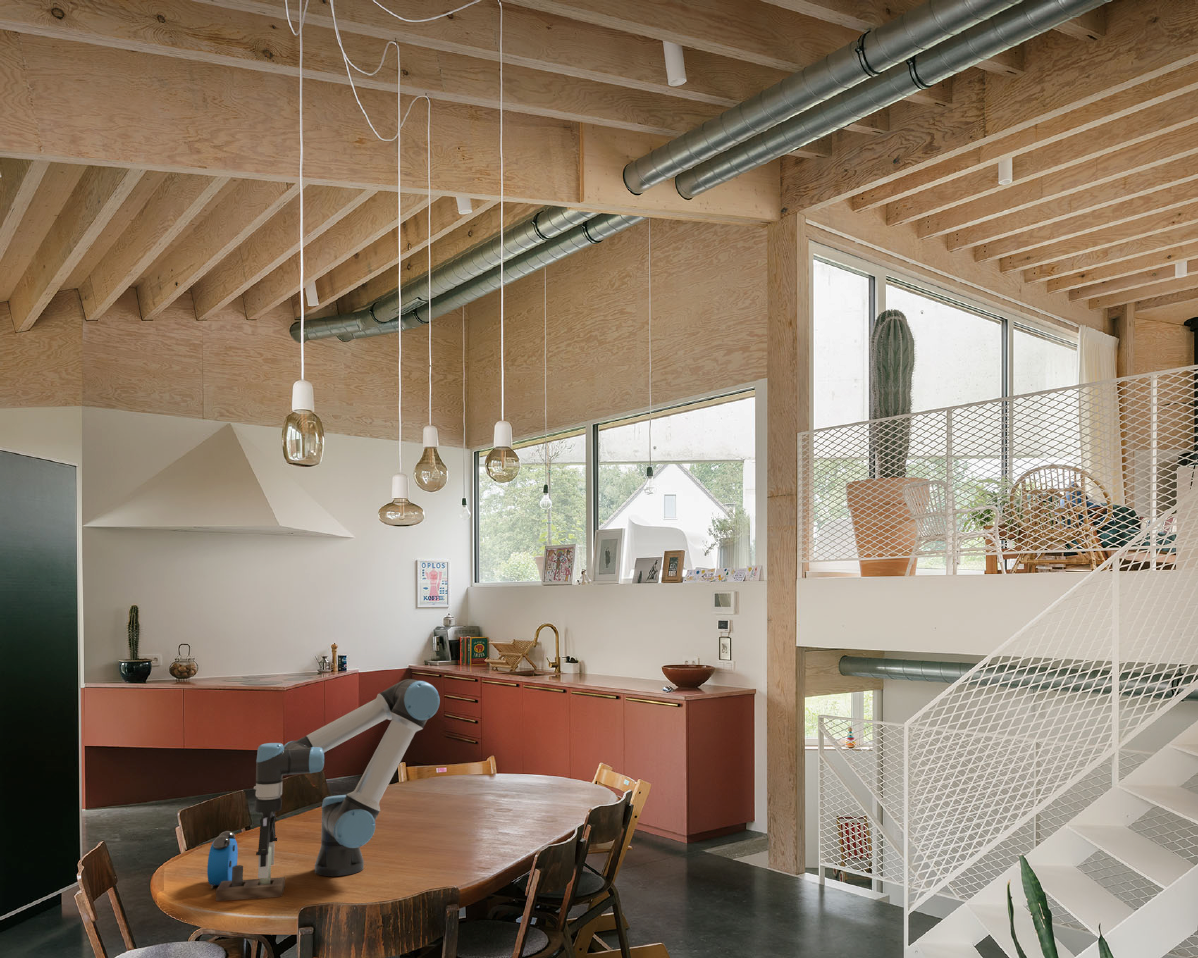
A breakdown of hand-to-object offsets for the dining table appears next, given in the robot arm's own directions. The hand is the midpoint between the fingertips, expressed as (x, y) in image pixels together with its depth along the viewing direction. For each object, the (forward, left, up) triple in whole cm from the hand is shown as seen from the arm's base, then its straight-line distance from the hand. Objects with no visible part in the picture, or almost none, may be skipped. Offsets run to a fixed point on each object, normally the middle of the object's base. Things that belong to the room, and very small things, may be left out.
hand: (266, 871), depth 282 cm
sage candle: (0, 0, -6) cm, 6 cm away
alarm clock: (+14, -12, -6) cm, 20 cm away
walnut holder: (+4, 0, -6) cm, 7 cm away
